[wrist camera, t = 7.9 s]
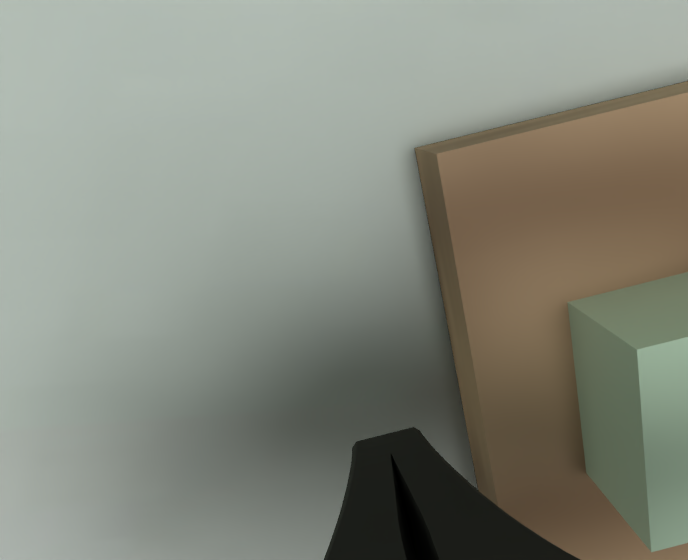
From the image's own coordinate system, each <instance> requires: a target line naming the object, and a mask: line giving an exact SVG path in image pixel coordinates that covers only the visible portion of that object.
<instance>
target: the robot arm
mask: <svg viewBox="0 0 688 560" xmlns="http://www.w3.org/2000/svg"><path fill="white" fill-rule="evenodd" d="M324 560H581V559H579V558H577V557H575V556H573V555H571V554H569V553H567V552H566V551H564V550H562V549H561V548H559V547H557V546H556V545H554V544H552V543H551V542H549V541H547V540H546V539H544V538H543V537H541V536H539V535H538V534H536V533H535V532H533V531H532V530H530V529H529V528H527V527H526V526H524V525H523V524H521V523H520V522H519V521H517V520H516V519H514V518H513V517H511V516H510V515H509V514H507V513H506V512H505V511H503V510H502V509H501V508H499V507H498V506H497V505H496V504H494V503H493V502H492V501H491V500H489V499H488V498H487V497H486V496H484V495H483V494H482V493H481V492H479V491H478V490H477V489H476V488H475V487H474V486H472V485H471V484H470V483H469V482H468V481H467V480H466V479H465V478H464V477H462V476H461V475H460V474H459V473H458V472H457V471H456V470H455V469H454V468H453V467H452V466H451V465H450V464H449V463H448V462H446V461H445V459H444V458H443V457H442V456H441V455H440V454H439V453H438V452H437V451H436V450H435V449H434V448H433V447H432V446H431V445H430V443H429V442H428V441H427V440H426V439H425V437H424V436H423V435H422V433H421V432H420V431H419V430H417V429H416V428H414V427H412V428H408V429H404V430H401V431H397V432H393V433H389V434H385V435H381V436H377V437H373V438H369V439H365V440H361V441H358V442H356V443H355V445H354V446H353V448H352V462H351V469H350V474H349V479H348V484H347V489H346V492H345V496H344V500H343V504H342V508H341V511H340V515H339V518H338V521H337V524H336V527H335V530H334V533H333V536H332V539H331V542H330V545H329V547H328V550H327V553H326V555H325V558H324Z"/></svg>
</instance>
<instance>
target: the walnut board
mask: <svg viewBox="0 0 688 560" xmlns="http://www.w3.org/2000/svg"><path fill="white" fill-rule="evenodd" d="M415 153H416V158H417V163H418V169H419V174H420V179H421V185H422V190H423V196H424V201H425V206H426V212H427V217H428V222H429V228H430V233H431V239H432V244H433V249H434V255H435V260H436V265H437V271H438V276H439V282H440V287H441V292H442V298H443V303H444V308H445V314H446V319H447V325H448V330H449V335H450V341H451V346H452V352H453V357H454V362H455V368H456V373H457V378H458V384H459V389H460V395H461V400H462V405H463V411H464V416H465V421H466V427H467V432H468V438H469V443H470V448H471V454H472V459H473V464H474V470H475V475H476V481H477V486H478V491H479V492H481V493H482V494H483V495H484V496H486V497H487V498H488V499H489V500H491V501H492V502H493V503H494V504H496V505H497V506H498V507H499V508H501V509H502V510H503V511H505V512H506V513H507V514H509V515H510V516H511V517H513V518H514V519H516V520H517V521H519V522H520V523H521V524H523V525H524V526H526V527H527V528H529V529H530V530H532V531H533V532H535V533H536V534H538V535H539V536H541V537H543V538H544V539H546V540H547V541H549V542H551V543H552V544H554V545H556V546H557V547H559V548H561V549H562V550H564V551H566V552H567V553H569V554H571V555H573V556H575V557H577V558H579V559H581V560H688V543H685V544H681V545H678V546H674V547H670V548H666V549H662V550H658V551H654V552H651V551H650V550H649V549H648V548H647V546H646V545H645V544H644V543H643V542H642V540H641V539H640V538H639V537H638V535H637V534H636V533H635V532H634V531H633V529H632V528H631V527H630V526H629V524H628V523H627V522H626V521H625V520H624V518H623V517H622V516H621V515H620V513H619V512H618V511H617V510H616V509H615V507H614V506H613V505H612V504H611V502H610V501H609V500H608V499H607V498H606V496H605V495H604V494H603V493H602V491H601V490H600V489H599V488H598V487H597V485H596V484H595V483H594V482H593V480H592V479H591V478H590V477H589V476H588V474H587V473H586V465H585V456H584V447H583V438H582V429H581V420H580V411H579V402H578V393H577V384H576V375H575V366H574V357H573V348H572V339H571V330H570V321H569V312H568V303H567V302H570V301H574V300H578V299H582V298H586V297H590V296H594V295H598V294H602V293H606V292H610V291H614V290H618V289H622V288H626V287H630V286H634V285H638V284H642V283H646V282H650V281H654V280H658V279H662V278H666V277H670V276H674V275H678V274H682V273H686V272H688V81H686V82H682V83H678V84H674V85H670V86H666V87H662V88H658V89H654V90H649V91H645V92H641V93H637V94H633V95H629V96H625V97H621V98H617V99H613V100H609V101H605V102H601V103H596V104H592V105H588V106H584V107H580V108H576V109H572V110H568V111H564V112H560V113H556V114H552V115H547V116H543V117H539V118H535V119H531V120H527V121H523V122H519V123H515V124H511V125H507V126H503V127H498V128H494V129H490V130H486V131H482V132H478V133H474V134H470V135H466V136H462V137H458V138H454V139H449V140H445V141H441V142H437V143H433V144H429V145H425V146H421V147H417V148H415Z"/></svg>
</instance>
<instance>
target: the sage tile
mask: <svg viewBox="0 0 688 560" xmlns="http://www.w3.org/2000/svg"><path fill="white" fill-rule="evenodd" d="M567 303H568V312H569V321H570V330H571V339H572V348H573V357H574V366H575V375H576V384H577V393H578V402H579V411H580V420H581V429H582V438H583V447H584V456H585V465H586V473H587V474H588V476H589V477H590V478H591V479H592V480H593V482H594V483H595V484H596V485H597V487H598V488H599V489H600V490H601V491H602V493H603V494H604V495H605V496H606V498H607V499H608V500H609V501H610V502H611V504H612V505H613V506H614V507H615V509H616V510H617V511H618V512H619V513H620V515H621V516H622V517H623V518H624V520H625V521H626V522H627V523H628V524H629V526H630V527H631V528H632V529H633V531H634V532H635V533H636V534H637V535H638V537H639V538H640V539H641V540H642V542H643V543H644V544H645V545H646V546H647V548H648V549H649V550H650V551H651V552H654V551H658V550H662V549H666V548H670V547H674V546H678V545H681V544H685V543H688V272H686V273H682V274H678V275H674V276H670V277H666V278H662V279H658V280H654V281H650V282H646V283H642V284H638V285H634V286H630V287H626V288H622V289H618V290H614V291H610V292H606V293H602V294H598V295H594V296H590V297H586V298H582V299H578V300H574V301H570V302H567Z"/></svg>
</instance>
